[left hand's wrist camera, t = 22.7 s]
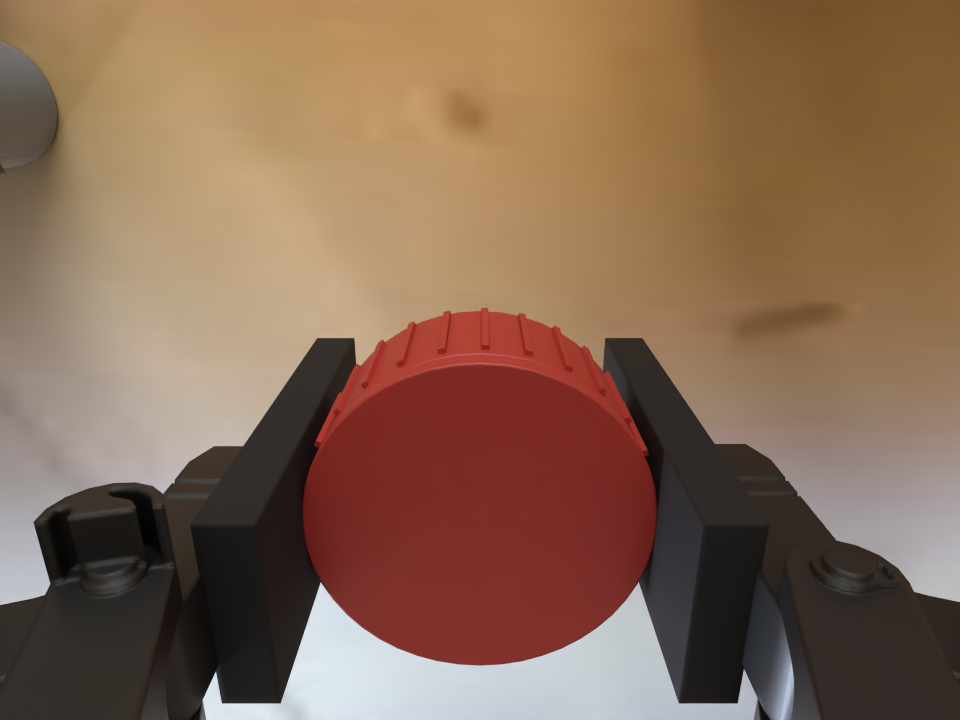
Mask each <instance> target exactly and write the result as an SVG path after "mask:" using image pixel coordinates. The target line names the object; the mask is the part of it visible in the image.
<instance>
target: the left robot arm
mask: <svg viewBox="0 0 960 720" xmlns="http://www.w3.org/2000/svg"><path fill="white" fill-rule="evenodd" d="M355 366H356V357H355V342H354V338H317V339H316V341H315V342H314V344H313V345H312V347H311V348H310V350H309V351H308V353H307V354H306V356H305V357H304V358H303V360H302V361H301V363H300V364H299V366H298V367H297V369H296V370H295V372H294V373H293V375H292V376H291V377H290V379H289V380H288V382H287V383H286V385H285V386H284V388H283V389H282V391H281V392H280V394H279V395H278V396H277V398H276V399H275V401H274V402H273V404H272V405H271V407H270V408H269V410H268V411H267V413H266V414H265V415H264V417H263V418H262V420H261V421H260V423H259V424H258V426H257V427H256V429H255V430H254V431H253V433H252V434H251V436H250V437H249V439H248V440H247V442H246V443H245V445H244V446H214V447H212V448H211V449H209V450H208V451H206V452H204V453H203V454H201V455H200V456H198V457H196V458H195V459H193V460H192V461H190V462H189V463H188V464H187V465H186V467H185V468H184V469H183V470H182V472H181V473H180V474H179V475H178V477H177V478H176V479H175V484H171V485H170V486H169V488H168V489H167V490H166V491H165V493H164V494H162V493H161V492H160V491H158V490H157V489H156V488H154V487H153V486H149V485H145V484H140V483H113V484H108V485H103V486H98V487H93V488H89V489H86V490H84V491H81V492H78V493H76V494H73V495H70V496H68V497H65V498H64V499H62V500H60V501H59V502H57V503H55V504H54V505H52V506H50V507H49V508H47V509H46V510H45V511H44V512H43V513H42V514H41V515H40V516H39V517H38V518H37V519H36V520H35V521H34V525H35V529H36V533H37V536H38V540H39V544H40V547H41V551H42V555H43V558H44V562H45V565H46V569H47V573H48V576H49V580H50V586H49V588H48V590H47V592H46V594H45V595H44V596H41V597H37V598H33V599H29V600H24V601H19V602H14V603H9V604H4V605H0V720H206V716H205V711H204V706H203V698H204V696H205V693H206V691H207V689H208V687H209V685H210V683H211V681H212V678H213V676H214V674H215V672H216V673H217V678H218V684H219V689H220V695H221V701H222V703H281V700H282V697H283V694H284V691H285V688H286V685H287V682H288V679H289V676H290V673H291V670H292V667H293V664H294V661H295V658H296V655H297V652H298V649H299V646H300V643H301V640H302V637H303V634H304V631H305V628H306V625H307V622H308V619H309V616H310V613H311V610H312V607H313V604H314V601H315V598H316V595H317V592H318V589H319V585H320V582H321V581H320V579H319V577H318V575H317V573H316V571H315V569H314V567H313V565H312V562H311V559H310V556H309V553H308V550H307V548H306V542H305V535H304V526H303V516H302V502H303V494H304V487H305V483H306V480H307V476H308V473H309V469H310V466H311V464H312V462H313V460H314V458H315V456H316V453H317V451H318V449H319V448H318V447H315V446H314V444H315V442H316V439H317V437H318V435H319V433H320V431H321V429H322V427H323V425H324V423H325V421H326V419H327V417H328V415H329V412H330V410H331V408H332V406H333V404H334V402H335V400H336V398H337V396H338V394H339V392H340V393H342V392H343V390H344V387H345V385H346V383H347V381H348V379H349V377H350V375H351V373H352V371H353V368H354V367H355ZM607 371H608V372H609V373H610V375H611V376H612V378H613V381H614V383H615V385H616V387H617V389H618V391H619V393H620V395H621V397H622V399H623V400H624V402H625V404H626V406H627V408H628V410H629V413H630V415H631V417H632V419H633V421H634V423H635V425H636V427H637V429H638V431H639V433H640V435H641V437H642V440H643V442H644V444H645V446H646V448H647V450H648V453H649V455H648V456H645V459H646V461H647V463H648V465H649V468H650V471H651V474H652V478H653V481H654V485H655V490H656V498H657V507H658V508H657V522H656V531H655V540H654V545H653V549H652V552H651V555H650V558H649V561H648V564H647V566H646V568H645V570H644V572H643V574H642V576H641V578H640V580H639V584H640V587H641V590H642V593H643V596H644V599H645V602H646V605H647V608H648V611H649V614H650V617H651V620H652V623H653V626H654V629H655V632H656V635H657V638H658V641H659V644H660V647H661V650H662V653H663V656H664V659H665V662H666V665H667V668H668V672H669V675H670V678H671V681H672V684H673V687H674V690H675V693H676V696H677V699H678V702H679V703H738V698H739V693H740V687H741V681H742V676H743V670H744V669H745V672H746V674H747V676H748V678H749V680H750V682H751V684H752V687H753V689H754V691H755V693H756V695H757V697H758V700H757V706H756V711H755V716H754V720H960V602H956V601H951V600H946V599H942V598H937V597H932V596H927V595H923V594H920V593H916V592H914V591H913V589H912V587H911V585H910V583H909V582H908V580H907V579H906V578H905V577H904V575H903V574H902V573H901V572H900V570H899V569H898V568H897V567H895V566H894V565H892V564H891V563H889V562H888V561H887V560H885V559H884V558H882V557H881V556H879V555H877V554H875V553H873V552H870V551H868V550H866V549H864V548H861V547H859V546H856V545H852V544H848V543H844V542H840V541H836V540H835V538H834V537H833V536H832V535H831V533H830V532H829V531H828V530H827V528H826V527H825V526H824V525H823V524H822V522H821V521H820V520H819V519H818V517H817V516H816V515H815V514H814V512H813V511H812V510H811V509H810V508H809V506H808V505H807V504H806V503H805V501H804V500H803V499H802V498H801V496H797V491H796V490H795V489H794V488H793V487H792V485H791V484H790V483H789V482H788V481H785V477H784V475H783V474H782V473H781V472H780V471H779V469H778V468H777V467H776V466H775V464H774V463H773V462H772V461H771V459H769V458H767V457H766V456H764V455H762V454H761V453H759V452H758V451H756V450H754V449H753V448H751V447H749V446H748V445H746V444H714V442H713V441H712V439H711V438H710V437H709V435H708V434H707V432H706V431H705V429H704V428H703V426H702V425H701V423H700V422H699V420H698V419H697V418H696V416H695V415H694V413H693V412H692V410H691V409H690V407H689V406H688V404H687V403H686V401H685V400H684V399H683V397H682V396H681V394H680V393H679V391H678V390H677V388H676V387H675V385H674V384H673V382H672V381H671V380H670V378H669V377H668V375H667V374H666V372H665V371H664V369H663V368H662V366H661V365H660V364H659V362H658V361H657V359H656V358H655V356H654V355H653V353H652V352H651V350H650V349H649V347H648V346H647V345H646V343H645V342H644V340H643V339H642V338H605V350H604V365H603V373H605V372H607Z"/></svg>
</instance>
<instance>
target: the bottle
mask: <svg viewBox="0 0 960 720" xmlns="http://www.w3.org/2000/svg"><path fill="white" fill-rule="evenodd" d="M56 128H57V108H56V102H55V98H54V95H53V92H52V90H51V87H50V85H49V83H48V81H47V79H46V78H45V76H44V75H43V73H42V72H41V70H40V69H39V68H38V67H37V65H36V64H35V63H34V62H33V61H32V60H31V59H30V58H29V57H28V56H27V55H25V54H24V53H23V52H22V51H20V50H19V49H17V48H16V47H14V46H12V45H11V44H8V43H6V42H4V41H2V40H0V163H1V164H2V166H3V168H11V167H19V166H23V165H26V164H29V163H31V162H33V161H35V160H36V159H38V158H39V157H40V156H41V155H43V154H44V152H45V151H46V150H47V149H48V148H49V146H50V144H51V142H52V140H53V138H54V135H55V132H56Z"/></svg>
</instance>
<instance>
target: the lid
mask: <svg viewBox="0 0 960 720" xmlns="http://www.w3.org/2000/svg"><path fill="white" fill-rule="evenodd" d="M314 446H315V447H318V448H319V449H318V451H317V453H316V456H315V458H314V460H313V462H312V464H311V466H310V469H309V473H308V476H307V480H306V483H305V487H304V494H303V502H302V516H303V526H304V535H305V542H306V548H307V550H308V553H309V556H310V559H311V562H312V565H313V567H314V569H315V571H316V573H317V575H318V577H319V579H320V581H321V583H322V584H323V586H324V587H325V589H326V590H327V592H328V593H329V594H330V596H331V597H332V599H333V600H334V601H335V602H336V603H337V604H338V605H339V607H340V608H341V609H342V610H343V611H344V612H345V613H346V614H347V615H348V616H349V617H350V618H352V619H353V620H354V621H355V622H356V623H357V624H359V625H360V626H361V627H362V628H364V629H365V630H367V631H368V632H370V633H371V634H373V635H374V636H376V637H377V638H379V639H380V640H382V641H384V642H386V643H388V644H390V645H392V646H394V647H396V648H398V649H401V650H404V651H406V652H409V653H411V654H414V655H417V656H420V657H424V658H428V659H432V660H435V661H440V662H447V663H453V664H463V665H497V664H506V663H513V662H519V661H524V660H528V659H532V658H535V657H539V656H543V655H545V654H548V653H551V652H553V651H556V650H559V649H561V648H563V647H565V646H567V645H569V644H571V643H573V642H575V641H577V640H579V639H581V638H582V637H584V636H585V635H587V634H588V633H590V632H591V631H593V630H594V629H596V628H597V627H599V626H600V625H601V624H602V623H603V622H604V621H606V620H607V619H608V618H609V617H610V616H612V615H613V614H614V613H615V611H616V610H617V609H618V608H619V607H620V606H621V605H622V604H623V603H624V602H625V601H626V599H627V598H628V597H629V595H630V594H631V592H632V591H633V589H634V588H635V587H636V585H637V584H638V582H639V580H640V578H641V576H642V574H643V572H644V570H645V568H646V566H647V564H648V561H649V558H650V555H651V552H652V549H653V545H654V540H655V531H656V522H657V508H658V507H657V498H656V490H655V485H654V481H653V478H652V474H651V471H650V468H649V465H648V463H647V461H646V459H645V456H648V455H649V453H648V450H647V448H646V446H645V444H644V442H643V440H642V437H641V435H640V433H639V431H638V429H637V427H636V425H635V423H634V421H633V419H632V417H631V415H630V413H629V410H628V408H627V406H626V404H625V402H624V400H623V399H622V397H621V395H620V393H619V391H618V389H617V387H616V385H615V383H614V381H613V378H612V376H611V375H610V373H609V372H608V371H607V372H605V373H603V371H602V370H601V368H600V367H599V366H598V365H597V364H596V362H595V361H594V360H593V358H592V356H591V353H590V351H589V349H588V348H587V347H586V346H583V347H582V348H580V347H579V346H578V345H577V344H576V343H575V342H573V341H572V340H570V339H569V338H567V337H566V336H564V335H563V334H561V331H560V328H558V327H556V326H554V327H553V328H550V327H548V326H546V325H543V324H541V323H539V322H536V321H533V320H530V319H527V318H526V316H525V314H522V313H519V315H518V316H516V315H511V314H505V313H500V312H488V308H482V309H481V311H476V312H460V313H454V314H451V312H450V311H446V312H444V314H443V316H439V317H436V318H433V319H430V320H427V321H423V322H420V323H418V324H415V322H412V323H409V324H408V327H407V329H406V330H404V331H402V332H400V333H399V334H397V335H395V336H394V337H392V338H391V339H389V340H388V341H386V342H384V341H383V340H381V341H380V342H379V343H378V344H377V346H376V349H375V351H374V352H373V353H372V354H371V355H370V356H369V357H368V359H367V360H366V361H365V362H364V363H363V364H362V365H361V366H360V365H358V364H356V366H355V367H354V368H353V371H352V373H351V375H350V377H349V379H348V381H347V383H346V385H345V387H344V390H343V392H342V393H340V392H339V394H338V396H337V398H336V400H335V402H334V404H333V406H332V408H331V410H330V412H329V415H328V417H327V419H326V421H325V423H324V425H323V427H322V429H321V431H320V433H319V435H318V437H317V439H316V442H315V444H314Z"/></svg>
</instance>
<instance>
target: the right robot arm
mask: <svg viewBox="0 0 960 720" xmlns="http://www.w3.org/2000/svg"><path fill="white" fill-rule="evenodd" d="M4 173H5V170H4V168H3V166H2V164H1V163H0V175H1V174H4Z"/></svg>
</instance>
